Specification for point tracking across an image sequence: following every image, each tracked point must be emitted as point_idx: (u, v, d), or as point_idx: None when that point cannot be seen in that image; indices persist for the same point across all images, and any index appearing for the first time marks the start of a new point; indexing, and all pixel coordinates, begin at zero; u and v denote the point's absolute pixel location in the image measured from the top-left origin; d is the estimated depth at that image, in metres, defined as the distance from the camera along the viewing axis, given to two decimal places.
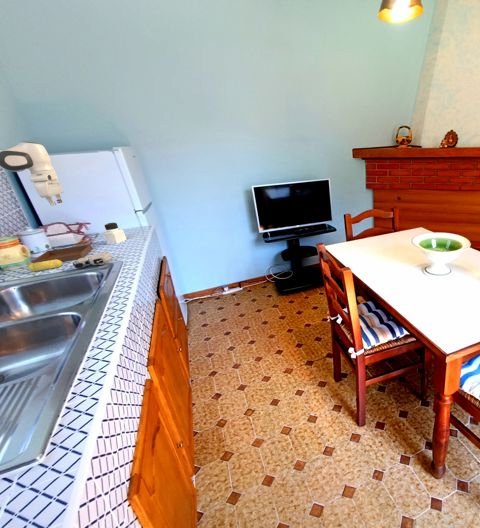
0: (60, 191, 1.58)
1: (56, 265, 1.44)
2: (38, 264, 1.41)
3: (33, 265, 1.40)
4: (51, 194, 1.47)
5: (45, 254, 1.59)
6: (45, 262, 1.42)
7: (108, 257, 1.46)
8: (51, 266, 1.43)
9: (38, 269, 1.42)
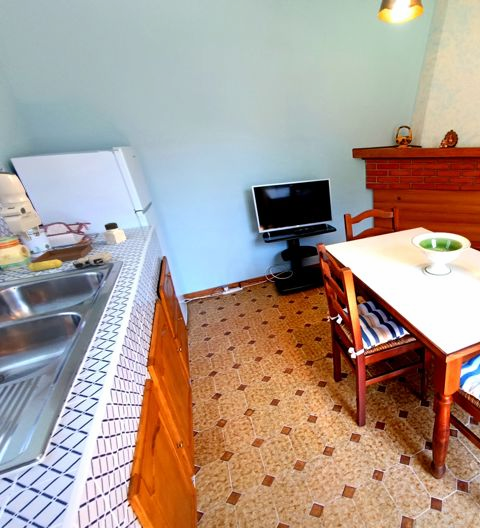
0: (37, 223, 1.42)
1: (56, 265, 1.44)
2: (38, 264, 1.41)
3: (33, 265, 1.40)
4: (25, 229, 1.31)
5: (45, 254, 1.59)
6: (45, 262, 1.42)
7: (108, 257, 1.46)
8: (51, 266, 1.43)
9: (38, 269, 1.42)
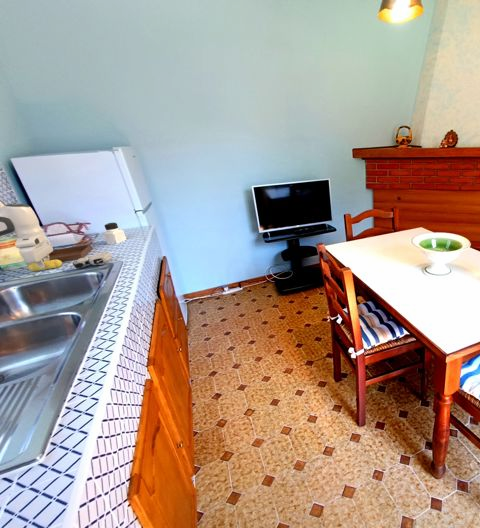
0: (49, 251, 1.47)
1: (56, 265, 1.44)
2: None
3: (33, 265, 1.40)
4: (39, 259, 1.36)
5: None
6: (45, 262, 1.42)
7: (108, 257, 1.46)
8: (51, 266, 1.43)
9: (38, 269, 1.42)
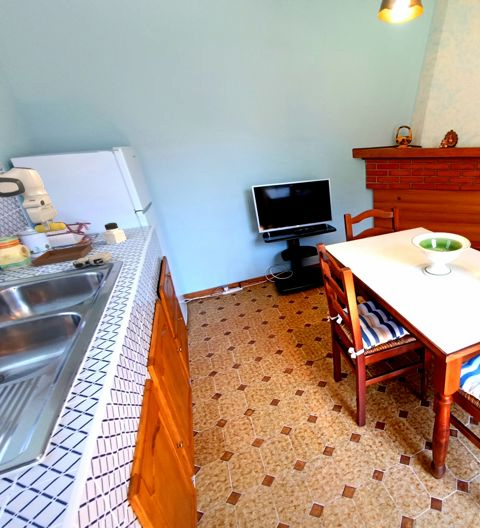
0: (54, 215, 1.55)
1: (60, 227, 1.53)
2: None
3: (39, 227, 1.49)
4: (44, 219, 1.45)
5: (45, 254, 1.59)
6: (50, 224, 1.51)
7: (108, 257, 1.46)
8: (56, 228, 1.52)
9: (44, 231, 1.50)
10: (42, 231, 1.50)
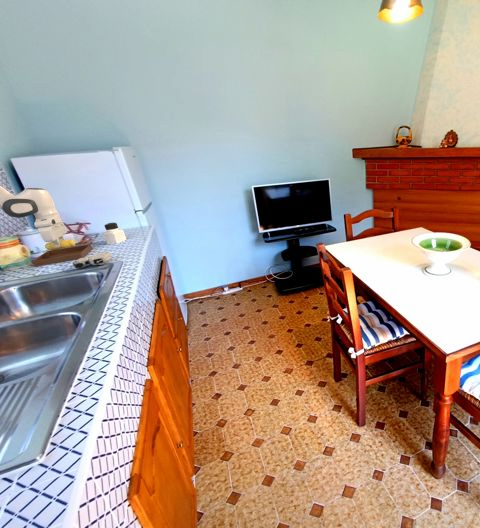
0: (64, 232, 1.61)
1: (70, 245, 1.58)
2: None
3: (50, 244, 1.54)
4: (55, 238, 1.50)
5: (45, 254, 1.59)
6: (60, 242, 1.56)
7: (108, 257, 1.46)
8: (66, 245, 1.57)
9: (54, 248, 1.56)
10: (53, 248, 1.55)
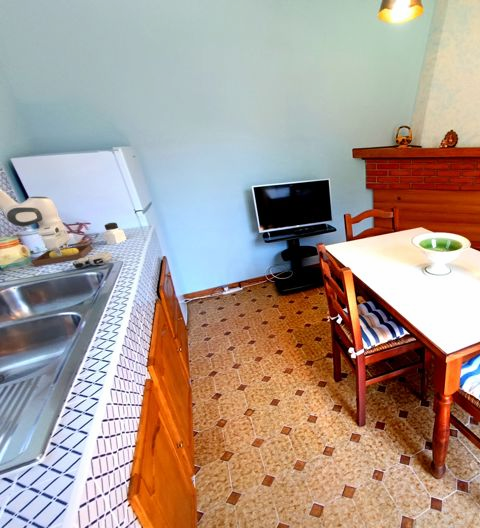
0: (67, 239, 1.62)
1: (74, 253, 1.60)
2: None
3: (53, 253, 1.56)
4: (58, 246, 1.52)
5: (45, 254, 1.59)
6: (64, 250, 1.58)
7: (108, 257, 1.46)
8: (69, 254, 1.59)
9: (58, 256, 1.57)
10: None
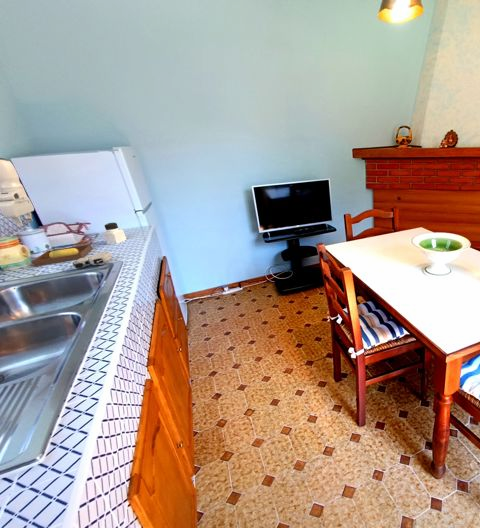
0: (30, 209, 1.45)
1: (74, 253, 1.60)
2: (58, 252, 1.57)
3: (53, 253, 1.56)
4: (18, 214, 1.34)
5: (45, 254, 1.59)
6: (64, 251, 1.58)
7: (108, 257, 1.46)
8: (69, 254, 1.59)
9: None
10: None
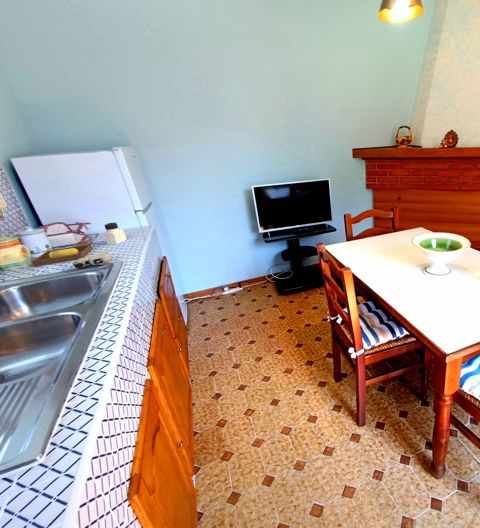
0: (2, 206, 1.33)
1: (74, 254, 1.60)
2: (57, 253, 1.56)
3: (53, 254, 1.56)
4: None
5: (45, 254, 1.59)
6: (63, 251, 1.57)
7: (108, 257, 1.46)
8: None
9: None
10: None
